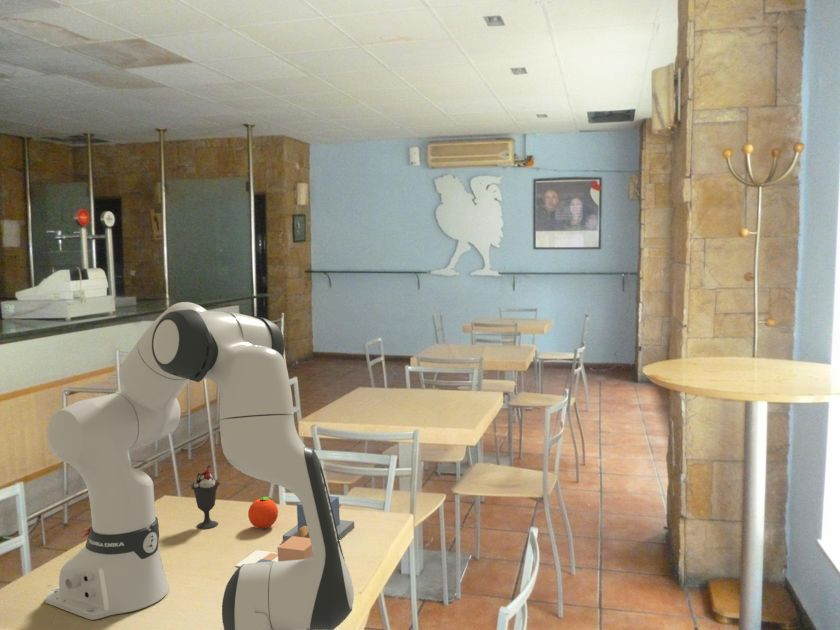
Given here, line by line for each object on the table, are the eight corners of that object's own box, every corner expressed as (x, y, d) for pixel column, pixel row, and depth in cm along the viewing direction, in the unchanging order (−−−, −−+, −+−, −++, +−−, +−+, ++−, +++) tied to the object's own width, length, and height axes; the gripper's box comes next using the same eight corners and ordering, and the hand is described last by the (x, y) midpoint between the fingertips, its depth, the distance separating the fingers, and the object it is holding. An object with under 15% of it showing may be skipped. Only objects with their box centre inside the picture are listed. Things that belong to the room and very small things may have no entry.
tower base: (282, 541, 159) (281, 507, 158) (308, 522, 170) (307, 490, 170) (331, 547, 155) (329, 512, 154) (354, 527, 166) (353, 494, 166)
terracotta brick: (279, 593, 134) (277, 547, 134) (294, 580, 140) (292, 536, 139) (305, 597, 133) (303, 550, 132) (320, 584, 138) (318, 539, 137)
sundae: (217, 530, 167) (214, 467, 166) (189, 530, 167) (185, 468, 166) (225, 519, 174) (222, 459, 173) (198, 520, 174) (194, 460, 173)
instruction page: (235, 566, 147) (235, 565, 147) (256, 551, 154) (256, 549, 154) (277, 572, 143) (277, 570, 143) (297, 556, 151) (297, 554, 151)
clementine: (260, 519, 173) (258, 491, 173) (285, 521, 172) (284, 492, 171) (243, 531, 166) (241, 502, 165) (270, 534, 164) (268, 504, 163)
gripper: (343, 603, 113) (349, 565, 127) (214, 609, 112) (233, 570, 126) (345, 641, 113) (350, 600, 127) (216, 647, 113) (235, 604, 127)
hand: (291, 585), depth 127 cm, fingers open, 8 cm apart
